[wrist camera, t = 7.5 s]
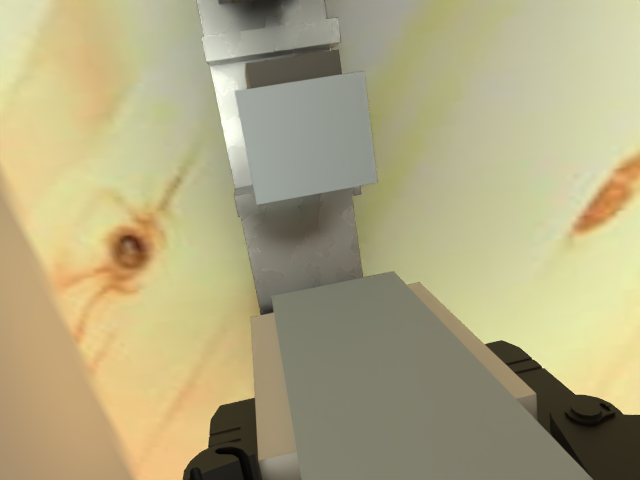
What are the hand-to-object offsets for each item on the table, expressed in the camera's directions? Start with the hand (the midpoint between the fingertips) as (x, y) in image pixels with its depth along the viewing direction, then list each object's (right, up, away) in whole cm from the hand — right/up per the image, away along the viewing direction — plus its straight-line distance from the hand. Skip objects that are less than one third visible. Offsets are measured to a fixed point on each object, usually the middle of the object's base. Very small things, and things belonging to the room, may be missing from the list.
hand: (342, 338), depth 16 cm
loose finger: (0, 0, 0) cm, 0 cm away
